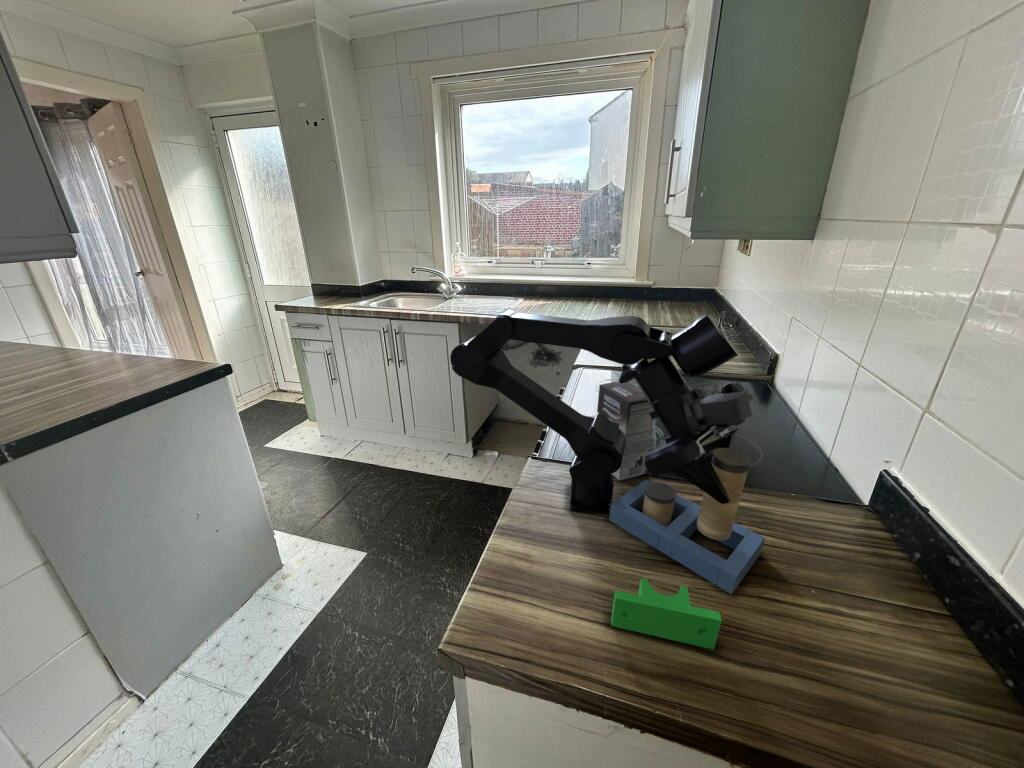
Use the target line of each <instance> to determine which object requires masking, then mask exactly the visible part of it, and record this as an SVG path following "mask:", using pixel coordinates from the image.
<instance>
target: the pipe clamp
mask: <svg viewBox="0 0 1024 768" xmlns="http://www.w3.org/2000/svg"><path fill="white" fill-rule="evenodd" d="M722 621H723V620H722V617H721V612H720V611H717V610H712V609H708V608H703V607H697V606H693V605H691V600H690V596H689V590H688V586H685V585H684V586H683V585H680V586H679V591H678V592H677V593H676V594H673V595H666V594H663V593H660V592H658V591H656V590H655V589H653V587H651V585H650V583H649V580H648V578H643V577H640V581H639V588H638V594H635V593H630V592H626V591H621V590H614V596H613V604H612V611H611V624H610V625H611V627H614V628H617V629H622V630H626V631H631V632H635V633H639V634H644V635H648V636H652V637H656V638H657V637H658V638H662V639H666V640H671V641H675V642H678V643H679V642H680V643H683V644H687V645H692V646H696V647H701V648H705V649H710V650H715V647H716V644H717V640H718V637H719V633H720V630H721V629H720V628H721V625H722Z"/></svg>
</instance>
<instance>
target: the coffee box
mask: <svg viewBox="0 0 1024 768" xmlns="http://www.w3.org/2000/svg"><path fill="white" fill-rule="evenodd" d="M598 387H599V388H598V397H597V409H596V414H597V413H598V412H601V413H602V414H604V415H605V416H606V417H607V418H608V419H609V420H610V421H612V422H614V423H618V424H619V429H620V430H621V431H622V432H623V433H624V435H625V439H626V446H625V451H624V455H623V459H622V464H621V466H620V468H619V470H617V471H616V472H615V473H612V474H611V475H612V476H613V477H615V479H616V480H618V481H619V482H620V481H624V480H627V479H631V478H635V477H639V476H643V475H645V474H646V470H647V469H646V467H645V465H644V463H645V456H647V455H648V454H649V450H650V444H651V438H652V432H653V426H654V420H655V419H653V420H652V418H651V417H650V415H649V413H651V412H653V411H654V410H653V408H652V407H651V404H652V403H651V404H650V403H649V402H648V400H647V399H646V397H645V395H644V394H643V392H642V391H641V389H640V387H639V386H637V385H635V384H632V383H631V382H630V381H629V382H626V383H619V381H613V382H606V383H602V384H599V385H598ZM655 402H656V401H655ZM653 403H654V402H653Z"/></svg>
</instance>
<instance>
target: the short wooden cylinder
mask: <svg viewBox="0 0 1024 768" xmlns="http://www.w3.org/2000/svg"><path fill="white" fill-rule="evenodd" d="M676 494H677V492H676V489H674V487H672V486H670V485H669V484H667V483H663V482H659V481H656V482H655V481H654V482H652V483H649V484H648V485H647V486H646V488H645V497H644V503H643V508H642V509H641V513H643V514H645V515H646V516H648V517H650V518H652V519H654V520H655V521H657V522H659V523H661V524H663V525H664V526H666V527H668V526H669V525H670V524H671V523H672V518H673V517H672V513H673V508H674V503H675V499H676Z"/></svg>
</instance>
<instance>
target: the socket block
mask: <svg viewBox="0 0 1024 768" xmlns="http://www.w3.org/2000/svg"><path fill="white" fill-rule="evenodd" d="M649 483H653V482H652V481H650V480H648V479H644V480H643V481H642V482H640V483H639V484H638V485H636V486H635V487H633V488H632V489H631V490H630V491H628V492H627V493H625V494H623V496H621V497H620V498H618V499H617V500H616V501H614V502H613V503H611V504H610V508H609V517H608V520H609V522H611V523H613V524H614V525H616V526H618V527H619V528H621V529H623V530H625V532H628V533H629V534H631V535H633V536H634V537H636V538H637V539H639V540H641V541H642V542H644V543H645V544H648V545H649V546H651V547H652V548H654V549H655V550H658V551H659V552H661V553H663V554H664V555H665V556H667V557H669V558H670V559H672V560H674V561H676V563H678V564H680V565H682V566H684V567H685V568H687V569H689V570H690V571H692V572H693V573H695V574H697V575H699V576H700V577H702V578H703V579H705V580H707V581H709V582H710V583H712V584H713V585H716V586H717V587H718V588H720V589H721V590H723V591H725V592H726V593H728V594H730V595H733V593H734V592H735V591H736V590H737V588H738V587H739V585H740V584H741V582H742V581H743V579H744V578H745V577H746V575H747V574H748V572H749V571H750V569H751V568H752V567H753V565H754V564H755V562H756V561H757V559H758V558H759V557H760V555H761V553H762V550H763V547H764V543H765V541H766V537H765V536H763V535H761V534H759V533H757V532H755V531H753V530H751V529H749V528H746V527H744V526H742V525H740V524H739V523H737V522H734V524H733V528H732V532H731V536H730V537H729V538H728V539H727V540H716V541H717V542H719V543H720V544H723V545H725V546H727V547H728V548H731V550H733V551H732V553H731V554H730V555H729V557H728V558H727V559H726V558H723V557H722V556H720V555H719V554H716V553H715V552H713V551H711V550H709V549H707V548H705V547H704V546H702V545H700V544H699V543H696V542H695V541H693V540H692V539H690V537H691V536H692V535H693V534H694V533H695V532H696V531H699V530H698V528H697V525H696V524H697V519H698V515H699V511H700V506H701V505H699V504H697V503H696V502H693V501H692V500H691V501H690V500H689V499H687V498H685V497H683V496H681V495H679V494H677V493H676V499H675V503H674V508H673V513H672V518H674V519H673V521H671V524H670V525H669V526H668V527H666V526H664V525H663V524H661V523H659V522H657V521H655V520H654V519H652V518H650V517H648V516H646V515H645V514H643V513H642V510H643V503H644V497H645V488H646V486H647V485H648V484H649Z"/></svg>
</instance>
